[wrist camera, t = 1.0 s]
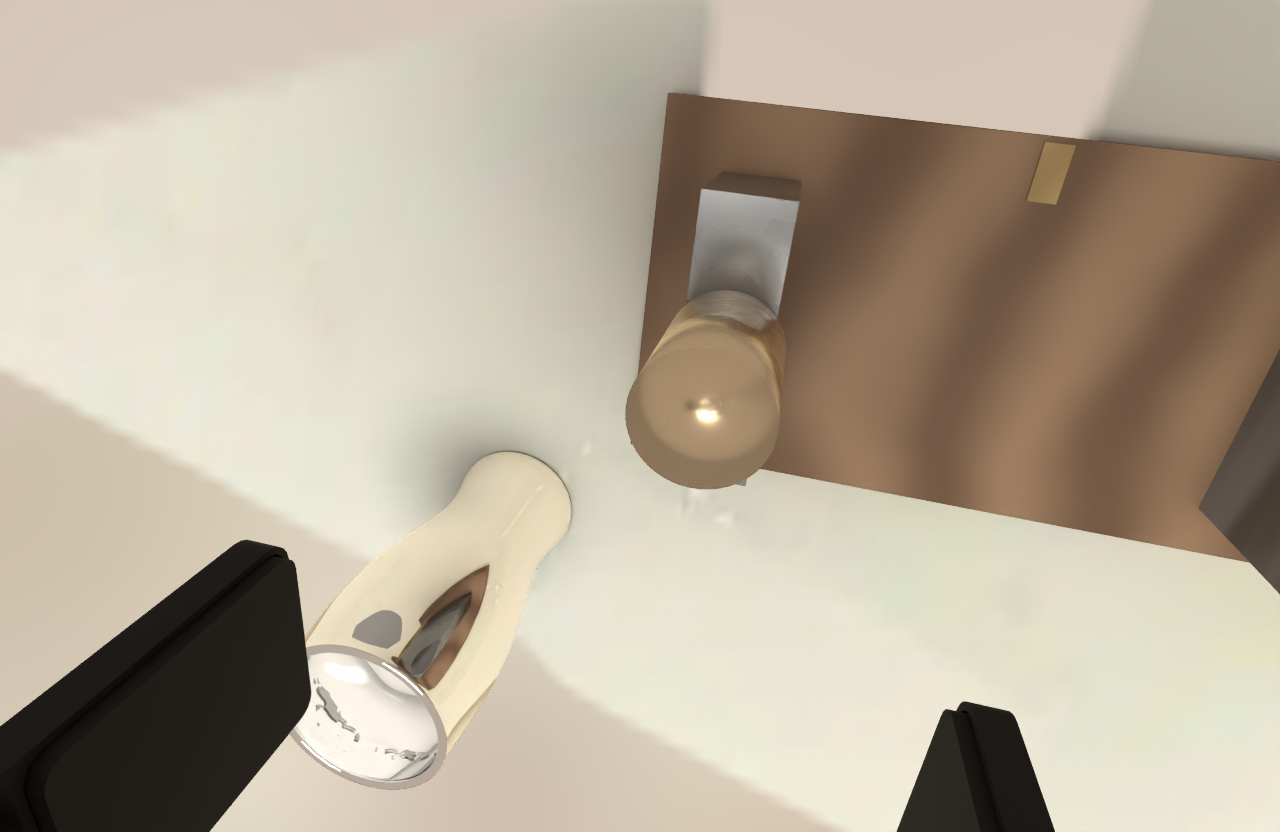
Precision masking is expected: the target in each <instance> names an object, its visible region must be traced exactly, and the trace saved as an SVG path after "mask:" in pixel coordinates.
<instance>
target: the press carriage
mask: <svg viewBox="0 0 1280 832" xmlns="http://www.w3.org/2000/svg"><path fill="white" fill-rule="evenodd" d="M801 182H802V181H794V180H787V179H779V178H771V177H763V176H756V175H748V174H740V173H732V172H725V171H723V172H721V173H720V174H719V175H718V176H716V177H715V178H714V179H713V180H711V181H710V182H709V183H708V184H707V185H705V186H704V187H703V188H702V189H701V196H700V203H699V211H698V219H697V226H696V234H695V241H694V249H693V256H692V264H691V272H690V279H689V287H688V294H687V302H686V305H685V306H683V308H682V309H681V310H680V311H679V312H678V313H677V315H676V316H675V318H674V319H673V321H672V322H671V324H670V326H669V327H668V329H667V330H666V332H665V334H664V335H663V337H662V338H661V340H660V342H659V343H658V345H657V346H656V348H655V350H654V351H653V353H652V354H651V356H650V358H649V359H648V361H647V362H646V364H645V366H644V367H643V369H642V370H641V372H640V374H639V375H638V377H637V378H636V380H635V382H634V384H633V386H632V388H631V390H630V392H629V395H628V398H627V404H626V426H627V430H628V434H629V437H630V439H631V442H632V444H633V446H634V448H635V450H636V451H637V453H638V454H639V456H640V457H641V458H642V460H643V461H644V462H645V463H646V464H647V465H648V466H649V467H650V468H651V469H653V470H654V471H655V472H656V473H658V474H659V475H661V476H662V477H664V478H666V479H668V480H670V481H671V482H674V483H676V484H679V485H682V486H686V487H690V488H696V489H718V488H723V487H728V486H731V485H734V484H737V485H742V486H745V485H746V480H747V478H748V477H750V476H751V475H753V474H754V473H755V472H756V471H757V470H759V469H760V468H761V467H762V465H763V464H764V463H765V462H766V461H767V459H768V458H769V456H770V454H771V453H772V450H773V448H774V446H775V443H776V440H777V436H778V429H779V419H780V409H781V399H782V388H783V378H784V368H785V357H786V341H785V336H784V332H783V329H782V327H781V325H780V323H779V321H778V319H777V317H778V312H779V306H780V301H781V296H782V291H783V285H784V280H785V275H786V269H787V264H788V259H789V254H790V248H791V243H792V238H793V233H794V227H795V222H796V217H797V212H798V206H799V200H800V191H801Z"/></svg>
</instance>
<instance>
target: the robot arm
mask: <svg viewBox="0 0 1280 832" xmlns="http://www.w3.org/2000/svg"><path fill="white" fill-rule="evenodd" d="M310 699H311V683H310V676H309V668H308V660H307V652H306V644H305V636H304V628H303V620H302V612H301V604H300V596H299V589H298V581H297V573H296V567H295V564H294V562H293V561H292V560H289V558H288V555H287V552H286V551H285V550H284V549H283V548H280V547H277V546H272V545H268V544H263V543H259V542H255V541H250V540H243V541H240V542H238V543H236V544H234V545H233V546H232V547H230V548H229V549H228V550H227V551H225V552H224V553H223V554H221V555H220V556H219V557H218V558H216V559H215V560H214V561H212V562H211V563H210V564H209V565H207V566H206V567H205V568H204V569H202V570H201V571H200V572H198V573H197V574H196V575H194V576H193V577H192V578H191V579H189V580H188V581H187V582H185V583H184V584H183V585H182V586H180V587H179V588H178V589H176V590H175V591H174V592H173V593H171V594H170V595H169V596H168V597H166V598H165V599H164V600H162V601H161V602H160V603H158V604H157V605H156V606H155V607H153V608H152V609H151V610H149V611H148V612H147V613H146V614H144V615H143V616H142V617H140V618H139V619H138V620H137V621H135V622H134V623H133V624H132V625H130V626H129V627H128V628H126V629H125V630H124V631H122V632H121V633H120V634H119V635H117V636H116V637H115V638H113V639H112V640H111V641H110V642H108V643H107V644H106V645H104V646H103V647H102V648H101V649H99V650H98V651H97V652H95V653H94V654H93V655H92V656H90V657H89V658H88V659H87V660H85V661H84V662H83V663H81V664H80V665H79V666H77V667H76V668H75V669H74V670H72V671H71V672H70V673H68V674H67V675H66V676H65V677H63V678H62V679H61V680H60V681H58V682H57V683H56V684H54V685H53V686H52V687H50V688H49V689H48V690H47V691H45V692H44V693H43V694H41V695H40V696H39V697H38V698H36V699H35V700H34V701H32V702H31V703H30V704H29V705H27V706H26V707H25V708H23V709H22V710H21V711H20V712H18V713H17V714H16V715H14V716H13V717H12V718H11V719H9V720H8V721H7V722H5V723H4V724H3V725H1V726H0V832H210V830H211V829H212V828H213V827H214V825H215V824H216V823H217V822H218V821H219V819H220V818H221V817H222V816H223V814H224V813H225V812H226V811H227V809H228V808H229V807H230V806H231V805H232V803H233V802H234V801H235V800H236V798H237V797H238V796H239V795H240V793H241V792H242V791H243V790H244V789H245V787H246V786H247V785H248V784H249V782H250V781H251V780H252V779H253V777H254V776H255V775H256V774H257V772H258V771H259V770H260V769H261V768H262V766H263V765H264V764H265V763H266V762H267V760H268V759H269V758H270V757H271V755H272V754H273V753H274V751H275V750H276V749H277V748H278V747H279V746H280V744H281V743H282V742H283V741H284V739H285V738H286V737H287V736H288V734H289V733H290V732H291V731H292V730H293V728H294V727H295V726H296V725H297V723H298V722H299V721H300V720H301V718H302V717H303V716H304V714H305V712H306V710H307V708H308V706H309V703H310ZM897 832H1055V830H1054V827H1053V824H1052V821H1051V818H1050V816H1049V813H1048V810H1047V807H1046V804H1045V801H1044V798H1043V795H1042V793H1041V790H1040V787H1039V784H1038V781H1037V778H1036V775H1035V772H1034V769H1033V767H1032V764H1031V761H1030V758H1029V755H1028V752H1027V749H1026V746H1025V744H1024V741H1023V738H1022V735H1021V732H1020V729H1019V726H1018V723H1017V721H1016V719H1015V717H1014V715H1013V714H1012V713H1011V712H1010V711H1006V710H1001V709H997V708H992V707H988V706H983V705H979V704H974V703H970V702H962V703H961V704H960V705H959V707H958V708H957V710H956V711H953V710H949V709H946V710H944V711H943V713H942V715H941V717H940V720H939V723H938V725H937V728H936V730H935V733H934V736H933V738H932V741H931V743H930V746H929V749H928V751H927V754H926V757H925V759H924V762H923V764H922V767H921V770H920V772H919V775H918V777H917V780H916V783H915V785H914V788H913V790H912V793H911V796H910V798H909V801H908V803H907V806H906V809H905V811H904V814H903V816H902V819H901V822H900V824H899V827H898V829H897Z"/></svg>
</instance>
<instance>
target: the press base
mask: <svg viewBox="0 0 1280 832" xmlns="http://www.w3.org/2000/svg"><path fill="white" fill-rule="evenodd" d="M723 171H725V172H732V173H740V174H748V175H756V176H763V177H771V178H779V179H787V180H794V181H802V182H801V191H800V200H799V206H798V212H797V217H796V222H795V227H794V233H793V238H792V243H791V248H790V254H789V259H788V264H787V269H786V275H785V280H784V285H783V291H782V296H781V301H780V306H779V312H778V317H777V319H778V321H779V323H780V325H781V327H782V329H783V332H784V336H785V341H786V357H785V368H784V378H783V388H782V399H781V409H780V419H779V429H778V436H777V440H776V443H775V446H774V448H773V450H772V453H771V454H770V456H769V458H768V459H767V461H766V462H765V463H764V464H763V465H762V467H761V468H760V469H765V470H770V471H775V472H780V473H786V474H791V475H796V476H801V477H806V478H812V479H817V480H822V481H827V482H833V483H838V484H843V485H848V486H853V487H859V488H864V489H869V490H874V491H879V492H885V493H890V494H895V495H900V496H906V497H911V498H916V499H921V500H926V501H932V502H937V503H942V504H947V505H952V506H958V507H963V508H968V509H973V510H979V511H984V512H989V513H994V514H999V515H1005V516H1010V517H1015V518H1020V519H1025V520H1031V521H1036V522H1041V523H1046V524H1052V525H1057V526H1062V527H1067V528H1072V529H1078V530H1083V531H1088V532H1093V533H1098V534H1104V535H1109V536H1114V537H1119V538H1125V539H1130V540H1135V541H1140V542H1145V543H1151V544H1156V545H1161V546H1166V547H1171V548H1177V549H1182V550H1187V551H1192V552H1198V553H1203V554H1208V555H1213V556H1218V557H1224V558H1229V559H1234V560H1239V561H1244V562H1250V563H1251V564H1252V565H1253V566H1254V567H1255V568H1256V569H1257V570H1258V572H1259V573H1260V574H1261V575H1262V576H1263V577H1264V578H1265V579H1266V580H1267V581H1268V582H1269V583H1270V584H1271V585H1272V586H1273V587H1274V588H1275V589H1276V590H1277V591H1278V593H1279V594H1280V162H1279V161H1270V160H1261V159H1252V158H1243V157H1234V156H1225V155H1217V154H1208V153H1199V152H1190V151H1181V150H1172V149H1164V148H1155V147H1146V146H1137V145H1128V144H1119V143H1110V142H1102V141H1093V140H1084V139H1075V138H1066V137H1057V136H1048V135H1040V134H1031V133H1022V132H1013V131H1004V130H996V129H987V128H978V127H969V126H960V125H951V124H942V123H934V122H925V121H915V120H906V119H898V118H889V117H880V116H871V115H863V114H854V113H845V112H835V111H827V110H818V109H810V108H801V107H792V106H783V105H774V104H765V103H757V102H747V101H739V100H730V99H721V98H712V97H704V96H695V95H686V94H677V93H668V99H667V108H666V117H665V127H664V136H663V145H662V155H661V164H660V173H659V183H658V192H657V201H656V211H655V220H654V229H653V239H652V248H651V257H650V267H649V276H648V285H647V295H646V304H645V314H644V323H643V332H642V342H641V351H640V360H639V370H638V375H639V374H640V372H641V370H642V369H643V367H644V366H645V364H646V362H647V361H648V359H649V358H650V356H651V354H652V353H653V351H654V350H655V348H656V346H657V345H658V343H659V342H660V340H661V338H662V337H663V335H664V334H665V332H666V330H667V329H668V327H669V326H670V324H671V322H672V321H673V319H674V318H675V316H676V315H677V313H678V312H679V311H680V310H681V309H682V308H683V306H685V305H686V302H687V294H688V287H689V279H690V272H691V264H692V256H693V249H694V241H695V234H696V226H697V219H698V211H699V203H700V196H701V189H702V188H703V187H704V186H705V185H707V184H708V183H709V182H710V181H711V180H713V179H714V178H715V177H716V176H718V175H719V174H720V173H721V172H723ZM631 444H632V442H631Z"/></svg>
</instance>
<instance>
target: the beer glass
mask: <svg viewBox="0 0 1280 832" xmlns="http://www.w3.org/2000/svg"><path fill="white" fill-rule="evenodd" d="M571 513H572V509H571V501H570V497H569V494H568V492H567V489H566V487H565V486H564V484H563V482H562V481H561V479H560V478H559V477H558V476H557V475H556V473H555V472H554V471H553V470H552V469H550V468H549V467H548V466H547V465H545V464H544V463H542V462H541V461H539V460H537V459H535V458H533V457H531V456H528V455H525V454H522V453H517V452H498V453H493V454H490V455H488V456H486V457H484V458H482V459H480V460H479V461H478V462H476V463H475V464H474V465H473V466H472V468H471V469H470V470H469V472H468V473H467V475H466V477H465V479H464V481H463V483H462V485H461V487H460V489H459V491H458V493H457V495H456V497H455V498H454V499H453V501H452V502H451V503H450V504H449V505H448V506H447V507H446V508H445V509H444V510H442V511H441V512H439V513H438V514H437V515H435V516H434V517H432V518H431V519H429V520H428V521H426V522H425V523H423V524H422V525H420V526H419V527H417V528H416V529H414V530H413V531H411V532H410V533H409V534H407V535H406V536H404V537H403V538H401V539H400V540H398V541H397V542H395V543H394V544H393V545H392V546H390V547H389V548H388V549H386V550H385V551H384V552H383V553H381V554H380V555H379V556H378V557H376V558H375V559H374V560H373V561H371V562H370V563H369V564H368V565H367V566H366V567H365V568H364V569H363V570H362V571H361V572H360V573H359V574H358V575H357V576H356V577H355V578H354V579H353V580H352V581H351V582H350V583H349V584H348V585H347V586H346V587H345V588H344V589H343V591H342V592H341V593H340V594H339V595H338V596H337V597H336V598H335V600H334V601H333V602H332V603H331V604H330V605H329V606H328V608H327V609H326V610H325V611H324V613H323V614H322V615H321V616H320V617H319V619H318V620H317V621H316V622H315V624H314V625H313V626H312V628H311V629H310V630H309V632H308V633H307V634H306V635H305V644H306V652H307V660H308V668H309V676H310V683H311V699H310V703H309V706H308V708H307V710H306V712H305V714H304V716H303V717H302V718H301V720H300V721H299V722H298V723H297V725H296V726H295V727H294V728H293V730H292V731H291V732H290V733H289V734H290V735H291V736H292V738H293V739H294V740H295V741H296V742H297V744H298V745H299V746H300V747H301V748H302V749H303V750H304V751H305V752H306V753H307V754H308V755H310V756H311V757H312V758H313V759H314V760H316V761H317V762H318V763H320V764H321V765H322V766H324V767H326V768H327V769H329V770H330V771H332V772H334V773H335V774H338V775H339V776H341V777H343V778H345V779H348V780H350V781H353V782H355V783H358V784H361V785H365V786H368V787H373V788H378V789H387V790H400V789H407V788H412V787H415V786H418V785H421V784H423V783H425V782H427V781H428V780H430V779H431V778H432V777H433V776H435V775H436V773H437V772H438V771H439V770H440V769H441V767H442V765H443V763H444V761H445V759H446V757H447V756H448V754H449V753H450V751H451V750H452V748H453V747H454V745H455V744H456V742H457V741H458V739H459V738H460V736H461V735H462V733H463V732H464V731H465V729H466V728H467V726H468V725H469V723H470V722H471V720H472V718H473V717H474V715H475V714H476V712H477V711H478V709H479V708H480V706H481V704H482V703H483V701H484V699H485V698H486V696H487V694H488V693H489V691H490V689H491V687H492V686H493V684H494V682H495V680H496V678H497V676H498V674H499V672H500V670H501V668H502V666H503V664H504V662H505V660H506V658H507V656H508V654H509V651H510V648H511V645H512V643H513V640H514V637H515V635H516V632H517V629H518V626H519V623H520V619H521V616H522V612H523V609H524V606H525V602H526V599H527V595H528V591H529V588H530V585H531V582H532V578H533V575H534V572H535V570H536V569H537V566H538V564H539V563H540V561H541V560H542V558H543V557H544V556H545V555H546V554H547V553H548V552H549V551H550V550H551V549H552V548H553V547H554V546H555V545H556V544H557V543H558V542H559V541H560V540H561V539H562V538H563V536H564V535H565V533H566V532H567V530H568V528H569V525H570V521H571Z"/></svg>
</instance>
